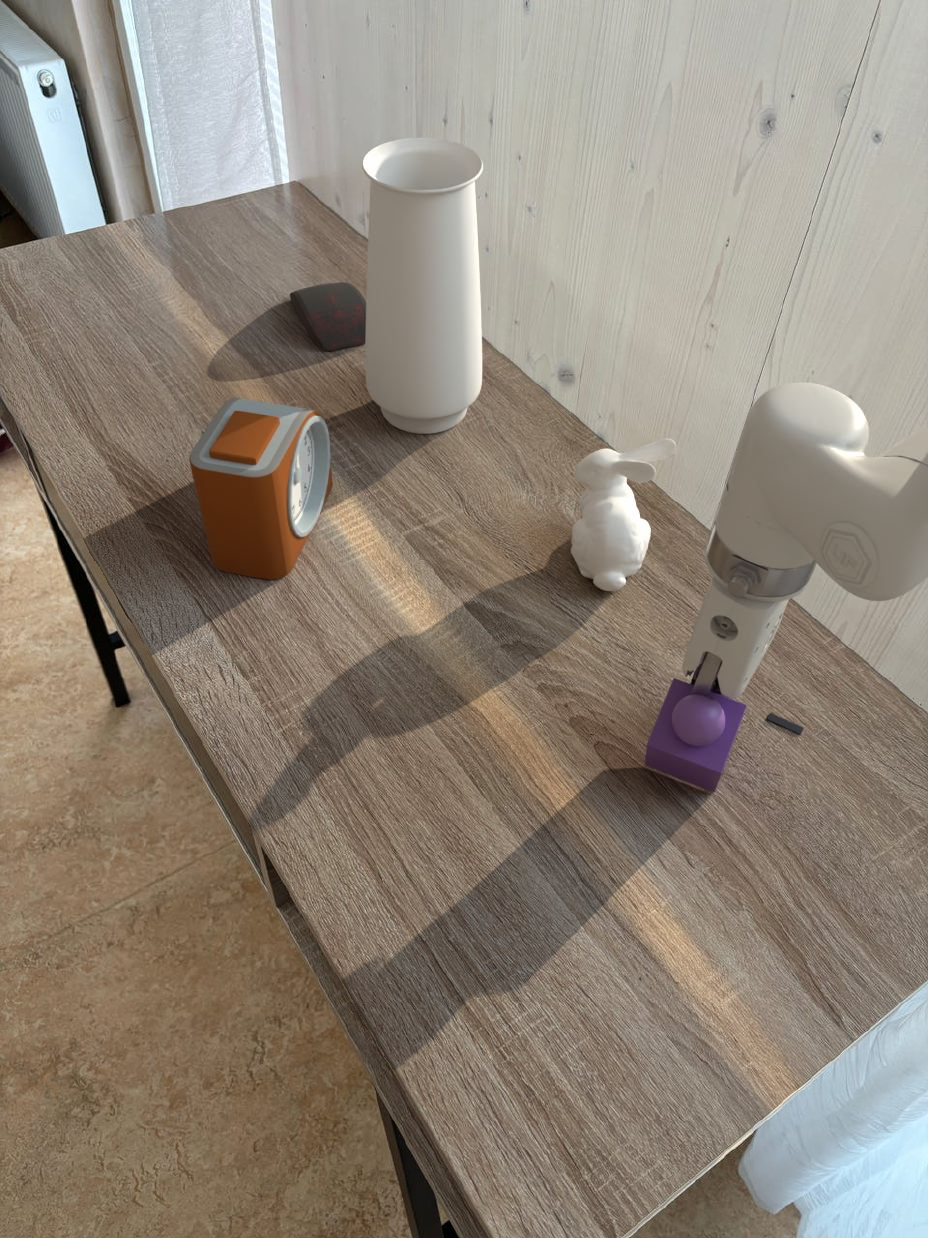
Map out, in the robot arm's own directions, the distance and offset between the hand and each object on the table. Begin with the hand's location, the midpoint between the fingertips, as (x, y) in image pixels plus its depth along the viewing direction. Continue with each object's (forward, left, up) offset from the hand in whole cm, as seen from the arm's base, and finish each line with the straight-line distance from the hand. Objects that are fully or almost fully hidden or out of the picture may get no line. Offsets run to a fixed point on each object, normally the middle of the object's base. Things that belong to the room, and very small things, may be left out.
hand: (705, 703), depth 85 cm
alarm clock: (+46, 0, -3) cm, 46 cm away
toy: (-1, +4, -1) cm, 4 cm away
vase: (+44, -25, -3) cm, 51 cm away
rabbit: (+16, -15, -3) cm, 22 cm away
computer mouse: (+64, -34, -3) cm, 72 cm away
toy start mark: (-6, -4, -2) cm, 8 cm away
